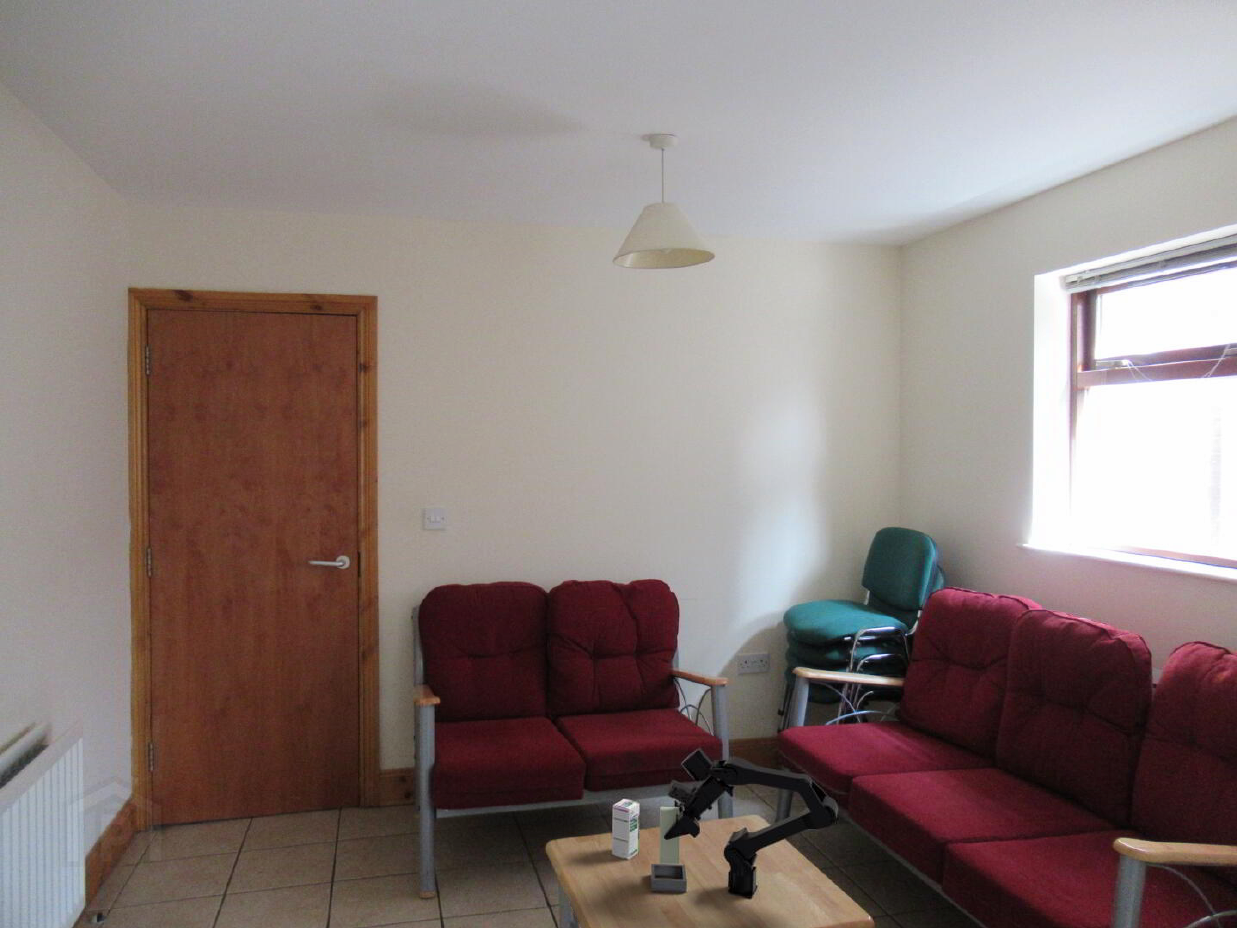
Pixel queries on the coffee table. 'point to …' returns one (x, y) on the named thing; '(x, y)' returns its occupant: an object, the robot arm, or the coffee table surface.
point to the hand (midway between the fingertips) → (664, 834)
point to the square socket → (668, 884)
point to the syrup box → (625, 829)
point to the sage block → (671, 846)
